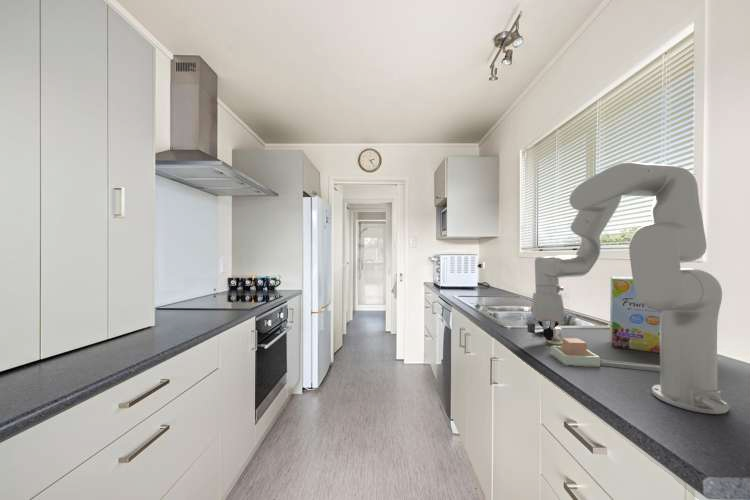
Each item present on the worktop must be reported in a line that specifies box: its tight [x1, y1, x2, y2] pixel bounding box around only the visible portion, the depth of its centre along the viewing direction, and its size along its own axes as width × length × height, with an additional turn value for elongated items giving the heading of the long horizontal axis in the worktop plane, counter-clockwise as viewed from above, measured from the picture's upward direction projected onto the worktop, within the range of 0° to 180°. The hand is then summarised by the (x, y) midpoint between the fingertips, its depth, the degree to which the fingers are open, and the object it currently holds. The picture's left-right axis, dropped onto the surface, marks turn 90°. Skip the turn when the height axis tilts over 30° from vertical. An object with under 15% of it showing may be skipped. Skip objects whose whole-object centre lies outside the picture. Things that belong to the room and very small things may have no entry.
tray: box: [550, 345, 601, 368], centre depth 98 cm, size 10×10×3 cm
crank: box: [526, 322, 563, 342], centre depth 115 cm, size 16×4×7 cm, turn 111°
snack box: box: [609, 275, 662, 354], centre depth 109 cm, size 22×9×26 cm, turn 57°
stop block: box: [561, 337, 588, 356], centre depth 98 cm, size 5×5×6 cm
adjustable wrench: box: [600, 358, 660, 373], centre depth 92 cm, size 25×6×2 cm, turn 64°
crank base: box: [545, 339, 562, 346], centre depth 117 cm, size 6×6×1 cm
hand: (548, 339), depth 111 cm, fingers closed
